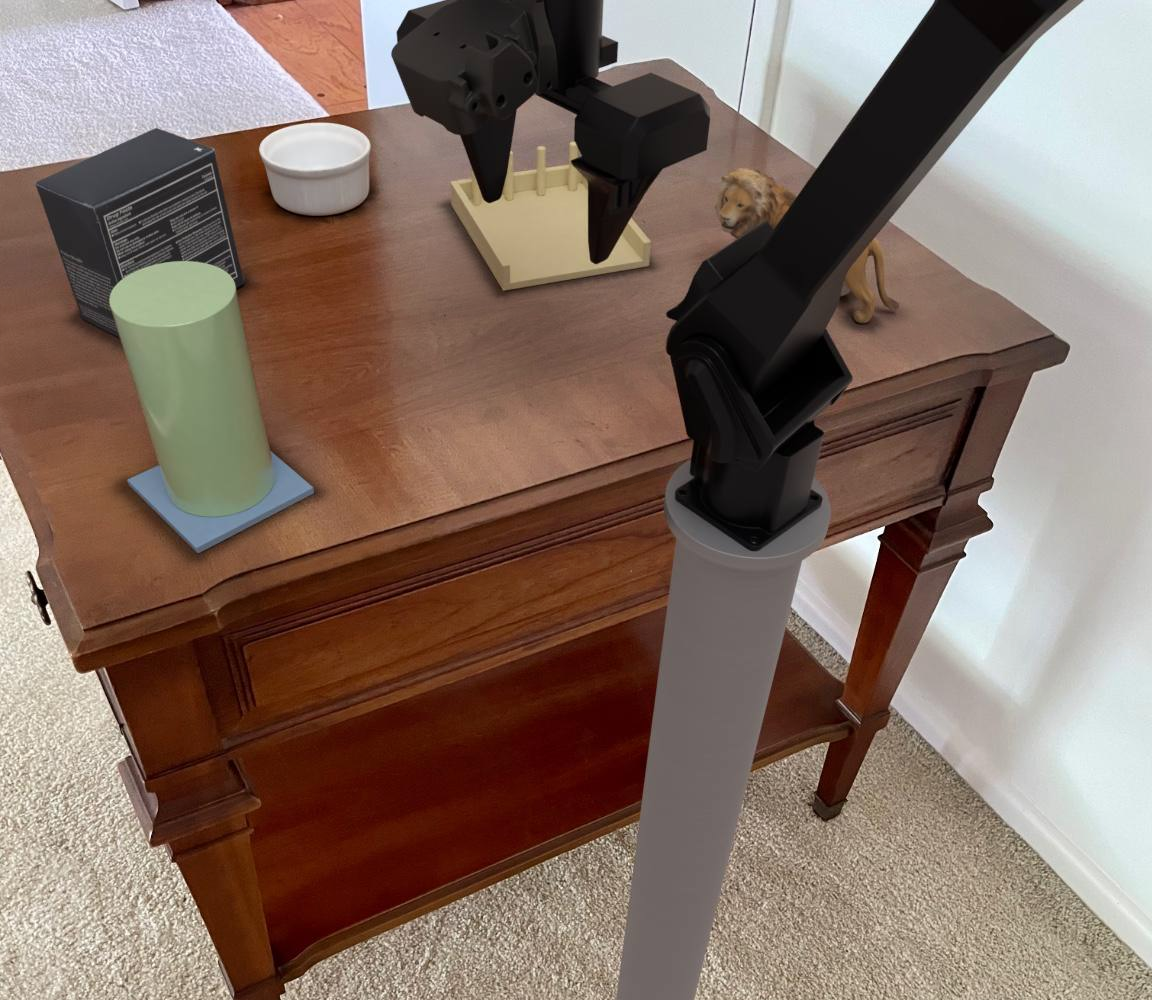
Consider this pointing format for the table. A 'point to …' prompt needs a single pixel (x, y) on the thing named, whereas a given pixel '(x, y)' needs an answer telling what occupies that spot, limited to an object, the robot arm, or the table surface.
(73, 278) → the small box
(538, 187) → the dish rack
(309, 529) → the table surface
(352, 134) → the ramekin
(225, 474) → the pale green cylinder
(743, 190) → the lion figurine
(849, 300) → the table surface
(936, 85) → the robot arm
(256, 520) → the mat
